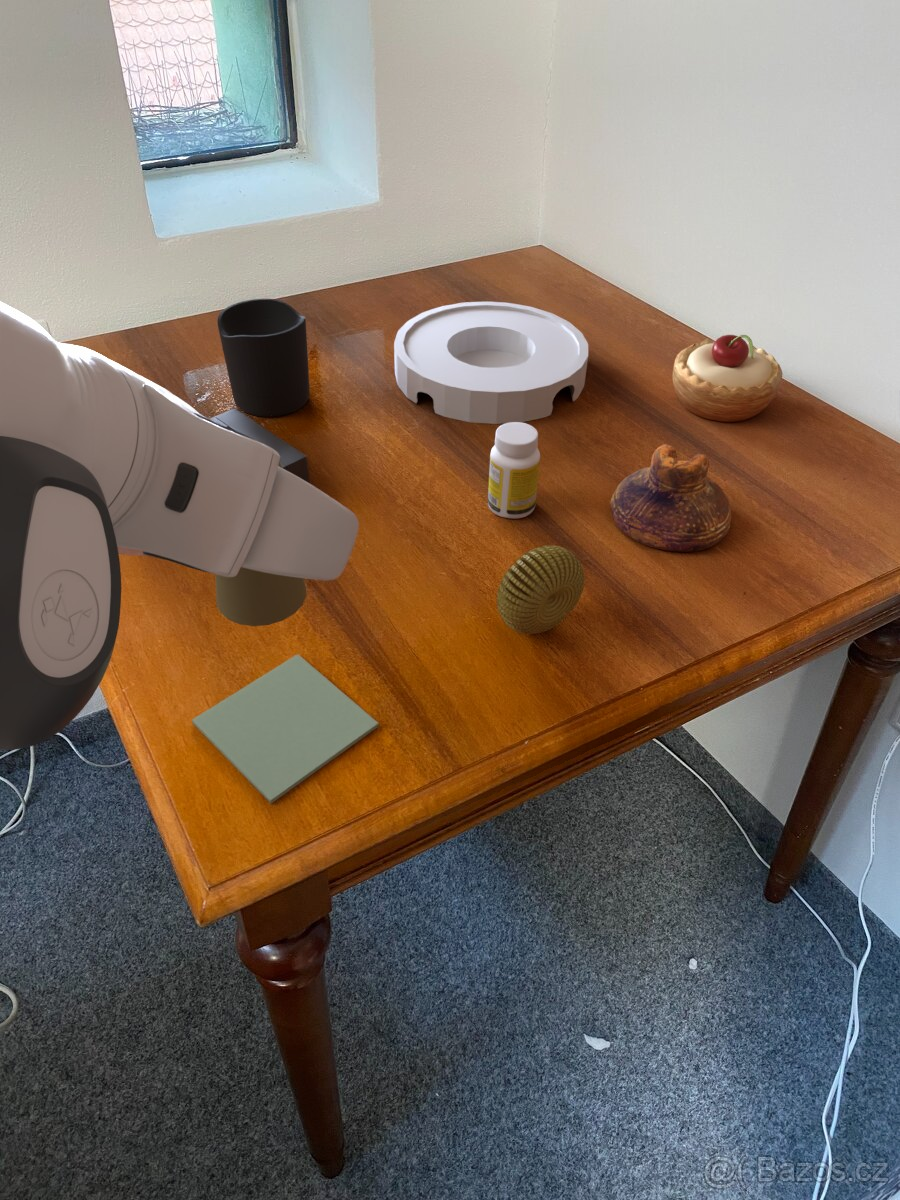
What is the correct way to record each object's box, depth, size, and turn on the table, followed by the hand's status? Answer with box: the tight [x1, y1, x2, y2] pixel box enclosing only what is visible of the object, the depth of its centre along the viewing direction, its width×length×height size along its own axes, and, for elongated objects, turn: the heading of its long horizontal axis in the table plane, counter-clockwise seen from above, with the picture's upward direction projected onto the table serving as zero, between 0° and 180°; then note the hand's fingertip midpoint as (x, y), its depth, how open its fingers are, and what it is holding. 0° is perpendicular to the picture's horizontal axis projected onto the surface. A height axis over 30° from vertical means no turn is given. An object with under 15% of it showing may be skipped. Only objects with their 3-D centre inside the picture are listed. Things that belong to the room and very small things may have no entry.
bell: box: [609, 443, 733, 553], centre depth 84 cm, size 12×12×7 cm
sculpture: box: [496, 544, 585, 635], centre depth 72 cm, size 8×4×8 cm, turn 123°
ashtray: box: [393, 300, 589, 425], centre depth 106 cm, size 23×23×4 cm
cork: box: [214, 462, 307, 627], centre depth 56 cm, size 6×6×11 cm
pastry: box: [671, 334, 783, 423], centre depth 100 cm, size 12×12×9 cm
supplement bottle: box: [487, 422, 541, 520], centre depth 84 cm, size 5×5×8 cm
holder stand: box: [209, 408, 311, 484], centre depth 87 cm, size 12×12×4 cm
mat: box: [191, 653, 380, 804], centre depth 66 cm, size 10×10×1 cm
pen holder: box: [217, 298, 310, 418], centre depth 98 cm, size 9×9×10 cm
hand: (255, 515), depth 55 cm, fingers closed on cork, 5 cm apart
